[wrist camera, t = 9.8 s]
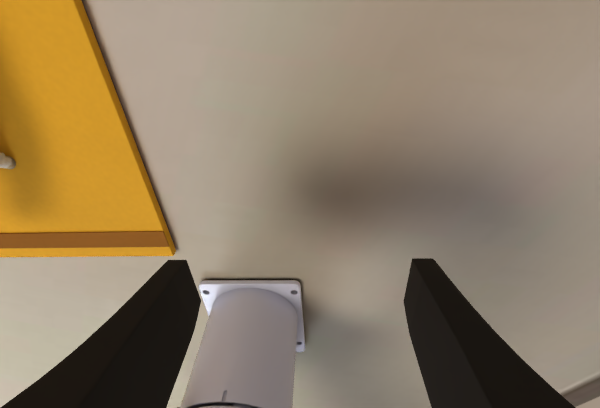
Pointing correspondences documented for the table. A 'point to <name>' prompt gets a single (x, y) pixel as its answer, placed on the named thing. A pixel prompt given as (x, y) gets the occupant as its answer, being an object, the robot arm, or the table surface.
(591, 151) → the table surface
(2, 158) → the bull figurine
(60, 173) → the towel
